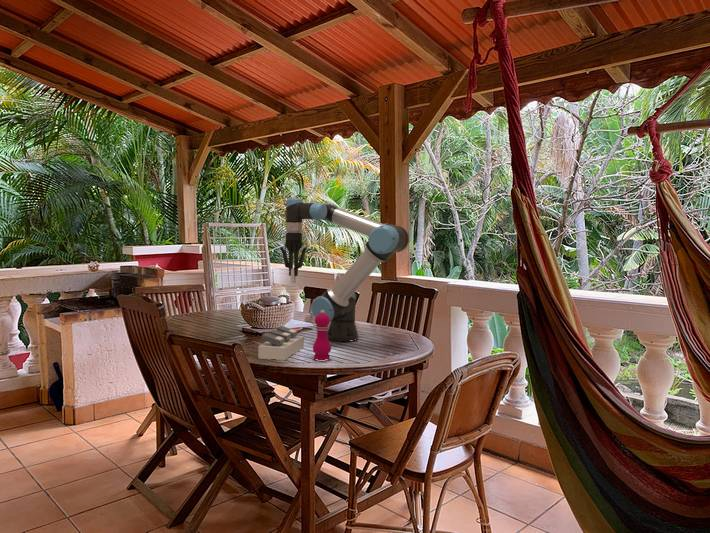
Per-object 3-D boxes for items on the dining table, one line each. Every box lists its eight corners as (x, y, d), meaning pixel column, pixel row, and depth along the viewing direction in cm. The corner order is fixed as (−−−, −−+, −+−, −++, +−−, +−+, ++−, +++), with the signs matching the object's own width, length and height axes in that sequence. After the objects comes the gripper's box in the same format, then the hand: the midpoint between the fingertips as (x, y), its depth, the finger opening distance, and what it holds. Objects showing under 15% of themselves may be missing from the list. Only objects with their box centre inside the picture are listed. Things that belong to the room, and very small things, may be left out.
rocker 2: (290, 338, 228) (291, 333, 228) (286, 341, 223) (287, 335, 223) (273, 334, 229) (274, 328, 229) (268, 336, 225) (269, 330, 224)
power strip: (308, 344, 243) (308, 331, 242) (284, 360, 214) (284, 345, 213) (284, 343, 245) (284, 330, 245) (258, 358, 216) (258, 343, 216)
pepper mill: (330, 357, 220) (331, 308, 219) (330, 362, 213) (331, 311, 211) (313, 357, 220) (313, 308, 218) (312, 361, 213) (313, 311, 211)
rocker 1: (283, 343, 220) (284, 338, 220) (279, 345, 215) (280, 340, 215) (265, 337, 222) (267, 331, 221) (260, 339, 217) (262, 334, 216)
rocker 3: (296, 335, 236) (297, 330, 235) (292, 338, 231) (294, 333, 230) (279, 329, 237) (281, 325, 237) (275, 332, 232) (276, 327, 232)
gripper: (277, 231, 248) (277, 283, 250) (304, 232, 245) (304, 284, 247) (283, 231, 255) (282, 281, 257) (309, 232, 252) (309, 282, 254)
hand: (293, 283), depth 252 cm, fingers closed
